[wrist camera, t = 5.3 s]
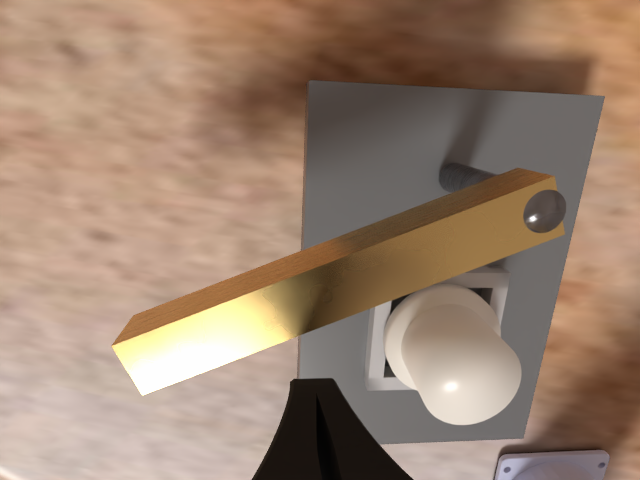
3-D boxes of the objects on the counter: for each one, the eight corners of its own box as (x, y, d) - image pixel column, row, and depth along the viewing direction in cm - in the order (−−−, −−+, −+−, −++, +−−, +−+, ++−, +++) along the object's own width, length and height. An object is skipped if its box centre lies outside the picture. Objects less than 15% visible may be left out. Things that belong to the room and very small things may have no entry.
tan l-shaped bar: (188, 300, 20) (142, 395, 13) (169, 265, 19) (111, 346, 13) (471, 191, 20) (571, 232, 13) (462, 152, 19) (561, 173, 12)
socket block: (506, 415, 27) (532, 451, 24) (295, 422, 25) (297, 461, 23) (575, 97, 21) (622, 95, 18) (306, 83, 20) (311, 78, 17)
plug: (472, 369, 23) (522, 435, 18) (373, 371, 22) (398, 440, 18) (489, 274, 21) (550, 321, 17) (382, 274, 21) (413, 322, 16)
